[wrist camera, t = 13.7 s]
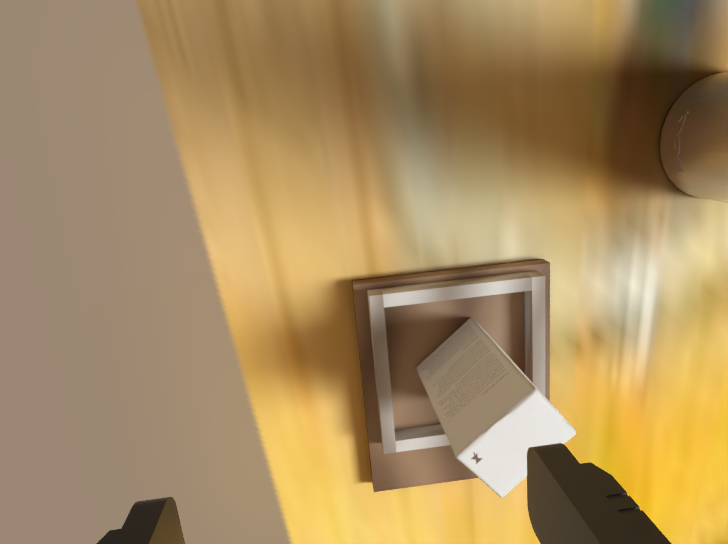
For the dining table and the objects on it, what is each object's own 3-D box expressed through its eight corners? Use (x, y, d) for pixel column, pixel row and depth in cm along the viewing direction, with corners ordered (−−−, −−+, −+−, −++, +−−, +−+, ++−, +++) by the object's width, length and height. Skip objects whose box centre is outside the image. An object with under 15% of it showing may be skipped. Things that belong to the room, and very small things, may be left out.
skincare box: (449, 400, 42) (500, 502, 30) (413, 366, 41) (452, 458, 29) (506, 350, 41) (580, 434, 29) (471, 314, 40) (534, 387, 28)
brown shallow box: (543, 259, 41) (558, 267, 38) (543, 459, 45) (557, 479, 43) (352, 280, 40) (354, 290, 37) (372, 482, 44) (376, 504, 42)
